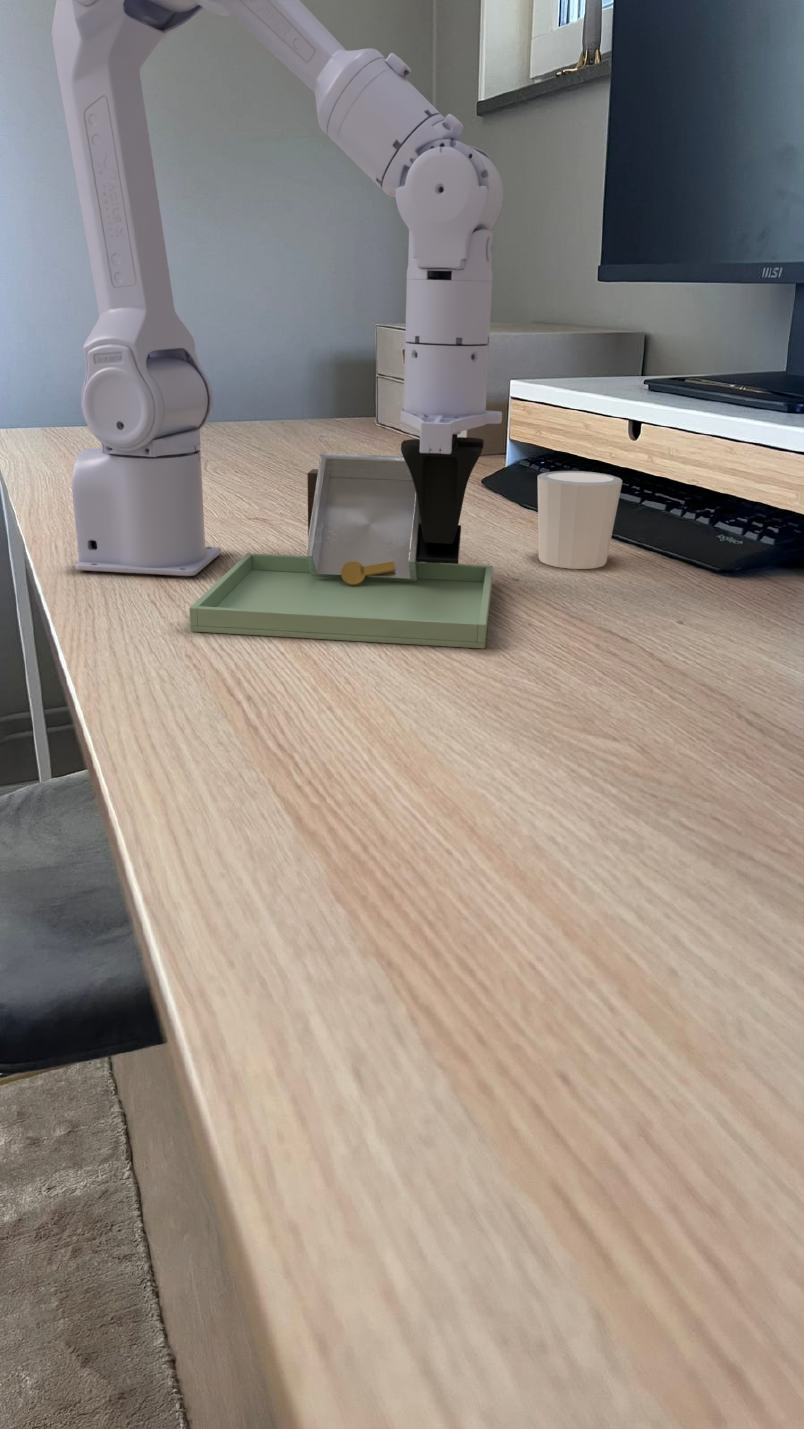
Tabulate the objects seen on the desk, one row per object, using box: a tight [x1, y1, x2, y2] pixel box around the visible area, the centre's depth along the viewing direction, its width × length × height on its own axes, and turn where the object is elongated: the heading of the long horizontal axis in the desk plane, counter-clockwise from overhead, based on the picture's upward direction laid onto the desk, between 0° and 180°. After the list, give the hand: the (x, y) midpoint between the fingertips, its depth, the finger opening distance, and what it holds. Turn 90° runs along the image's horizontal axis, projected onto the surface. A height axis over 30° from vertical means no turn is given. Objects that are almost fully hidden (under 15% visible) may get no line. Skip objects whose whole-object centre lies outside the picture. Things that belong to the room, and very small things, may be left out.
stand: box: [307, 468, 429, 563], centre depth 81 cm, size 10×2×8 cm, turn 84°
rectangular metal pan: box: [305, 452, 462, 582], centre depth 77 cm, size 11×9×3 cm
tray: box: [188, 552, 494, 650], centre depth 72 cm, size 19×15×2 cm
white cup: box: [537, 470, 623, 570], centre depth 86 cm, size 7×7×7 cm
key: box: [341, 561, 395, 586], centre depth 76 cm, size 4×2×1 cm
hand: (439, 541), depth 75 cm, fingers closed
